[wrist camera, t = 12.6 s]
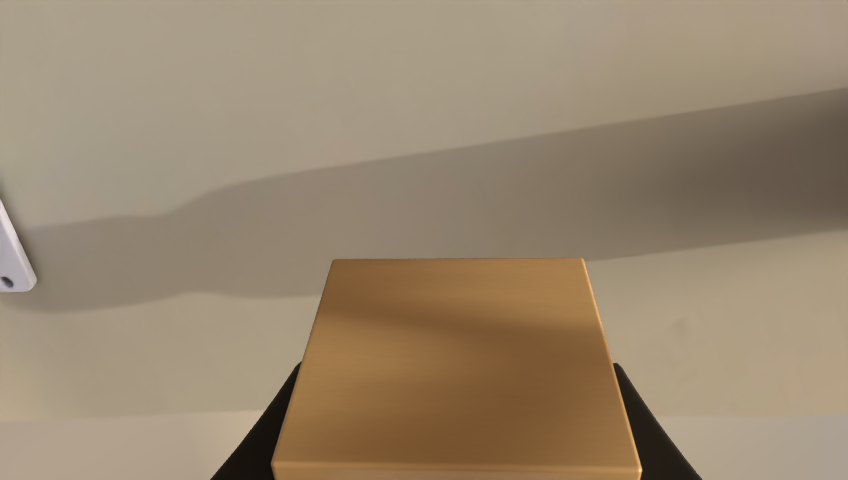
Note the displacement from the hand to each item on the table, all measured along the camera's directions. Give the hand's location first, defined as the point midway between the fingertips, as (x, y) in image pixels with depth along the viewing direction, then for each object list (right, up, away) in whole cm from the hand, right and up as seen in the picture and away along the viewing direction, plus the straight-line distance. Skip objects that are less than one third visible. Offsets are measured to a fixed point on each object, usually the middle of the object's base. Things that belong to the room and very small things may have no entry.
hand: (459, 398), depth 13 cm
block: (0, +1, +1) cm, 1 cm away
